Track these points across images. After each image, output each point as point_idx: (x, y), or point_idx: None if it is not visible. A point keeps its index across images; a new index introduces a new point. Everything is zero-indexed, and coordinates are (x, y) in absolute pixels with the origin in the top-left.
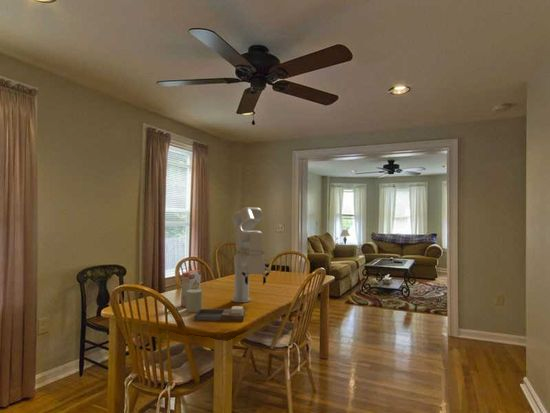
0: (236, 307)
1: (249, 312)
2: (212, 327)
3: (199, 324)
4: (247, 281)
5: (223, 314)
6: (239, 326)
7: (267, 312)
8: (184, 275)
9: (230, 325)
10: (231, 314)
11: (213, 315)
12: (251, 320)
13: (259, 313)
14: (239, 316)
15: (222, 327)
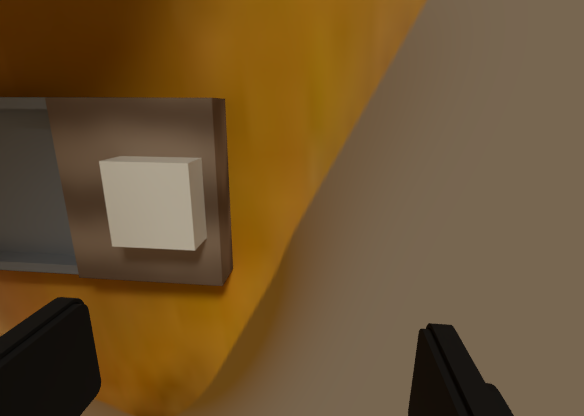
0: (140, 203)
1: (252, 47)
2: None
3: (16, 316)
4: (60, 408)
5: (88, 260)
6: (224, 351)
7: (405, 36)
8: None
9: (174, 335)
10: (139, 260)
11: (23, 174)
12: (282, 251)
13: (335, 74)
14: (199, 281)
15: (142, 362)
